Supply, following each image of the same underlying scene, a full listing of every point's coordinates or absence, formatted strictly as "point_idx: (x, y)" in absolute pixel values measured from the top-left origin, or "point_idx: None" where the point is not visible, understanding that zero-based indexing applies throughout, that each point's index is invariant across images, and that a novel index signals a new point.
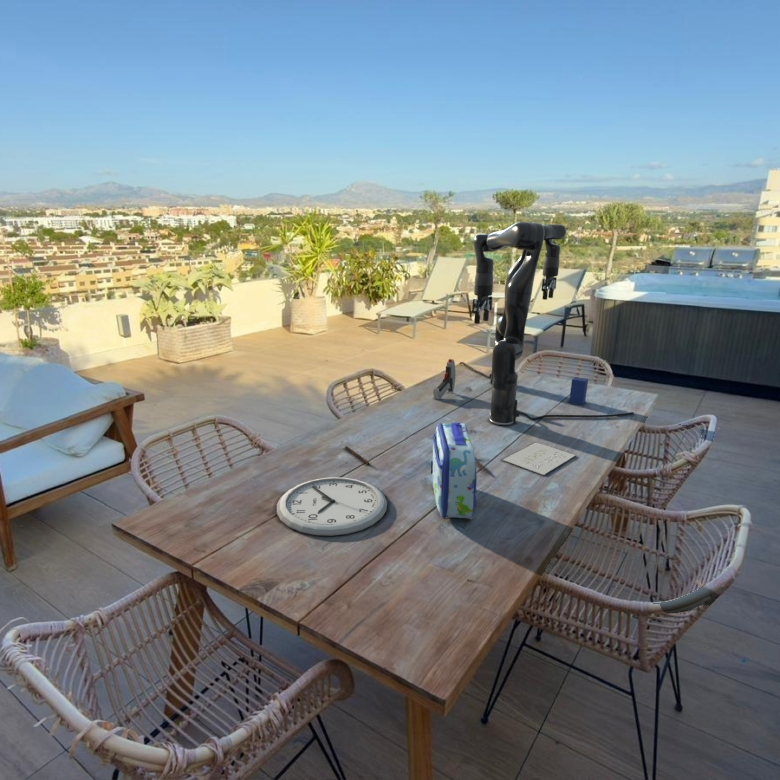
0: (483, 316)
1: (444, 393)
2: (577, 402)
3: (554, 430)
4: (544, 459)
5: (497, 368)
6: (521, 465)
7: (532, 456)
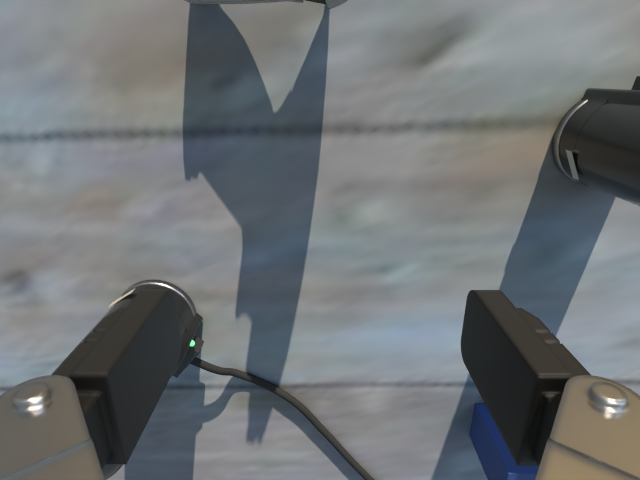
0: (495, 324)
1: (246, 2)
2: (473, 428)
3: (205, 435)
4: None
5: None
6: None
7: None
